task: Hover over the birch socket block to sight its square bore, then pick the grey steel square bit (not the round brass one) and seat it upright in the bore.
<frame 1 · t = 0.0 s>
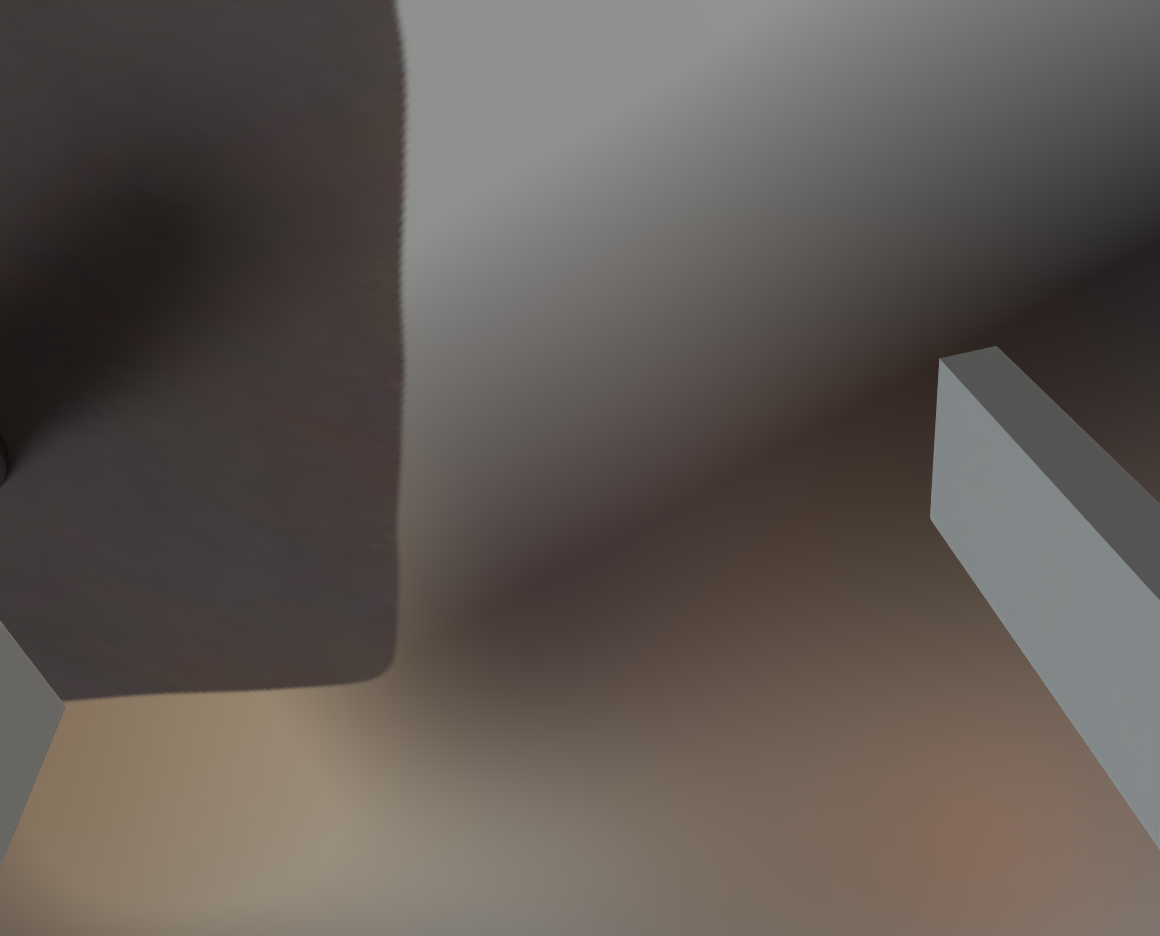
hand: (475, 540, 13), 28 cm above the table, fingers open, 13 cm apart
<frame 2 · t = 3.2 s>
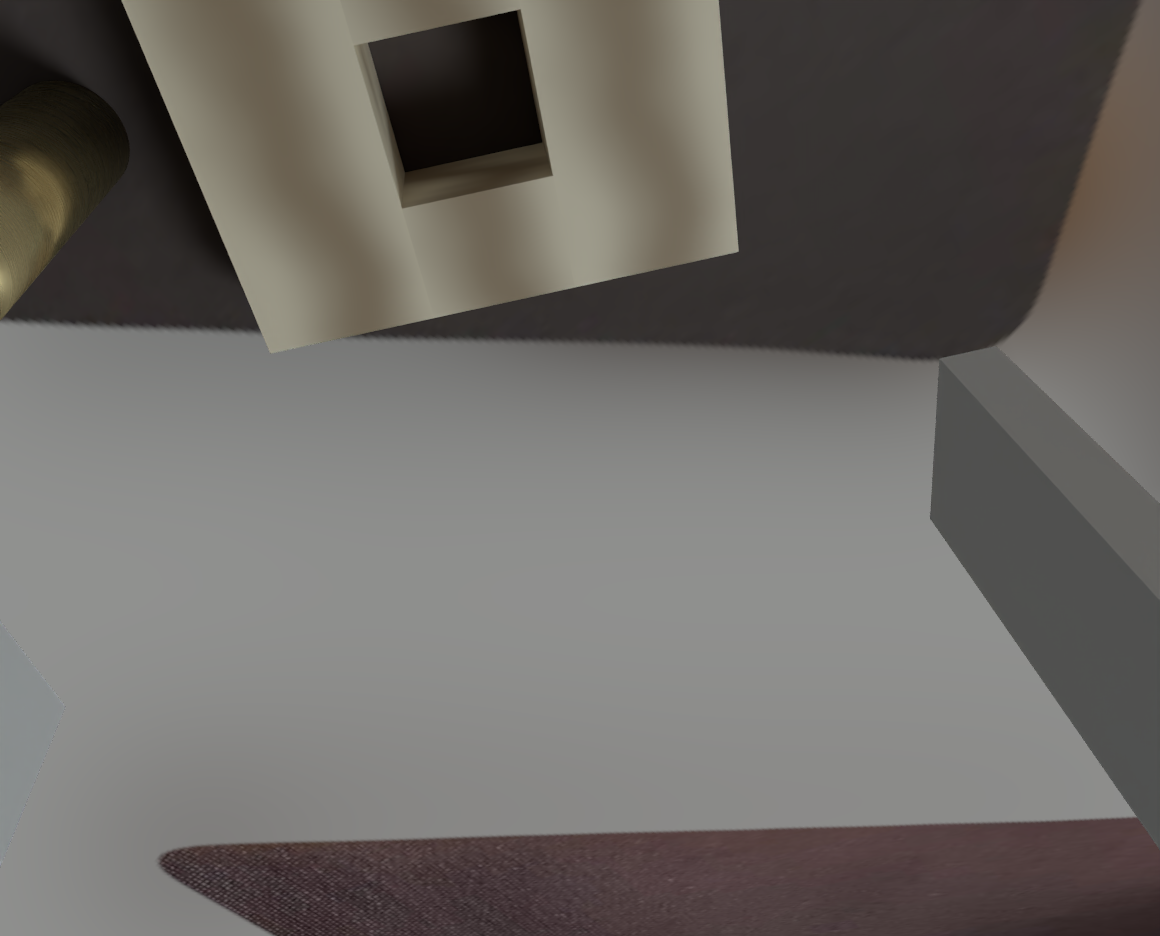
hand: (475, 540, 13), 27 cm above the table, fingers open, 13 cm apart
round bit: (69, 138, 34), on the table
socket block: (456, 84, 35), on the table
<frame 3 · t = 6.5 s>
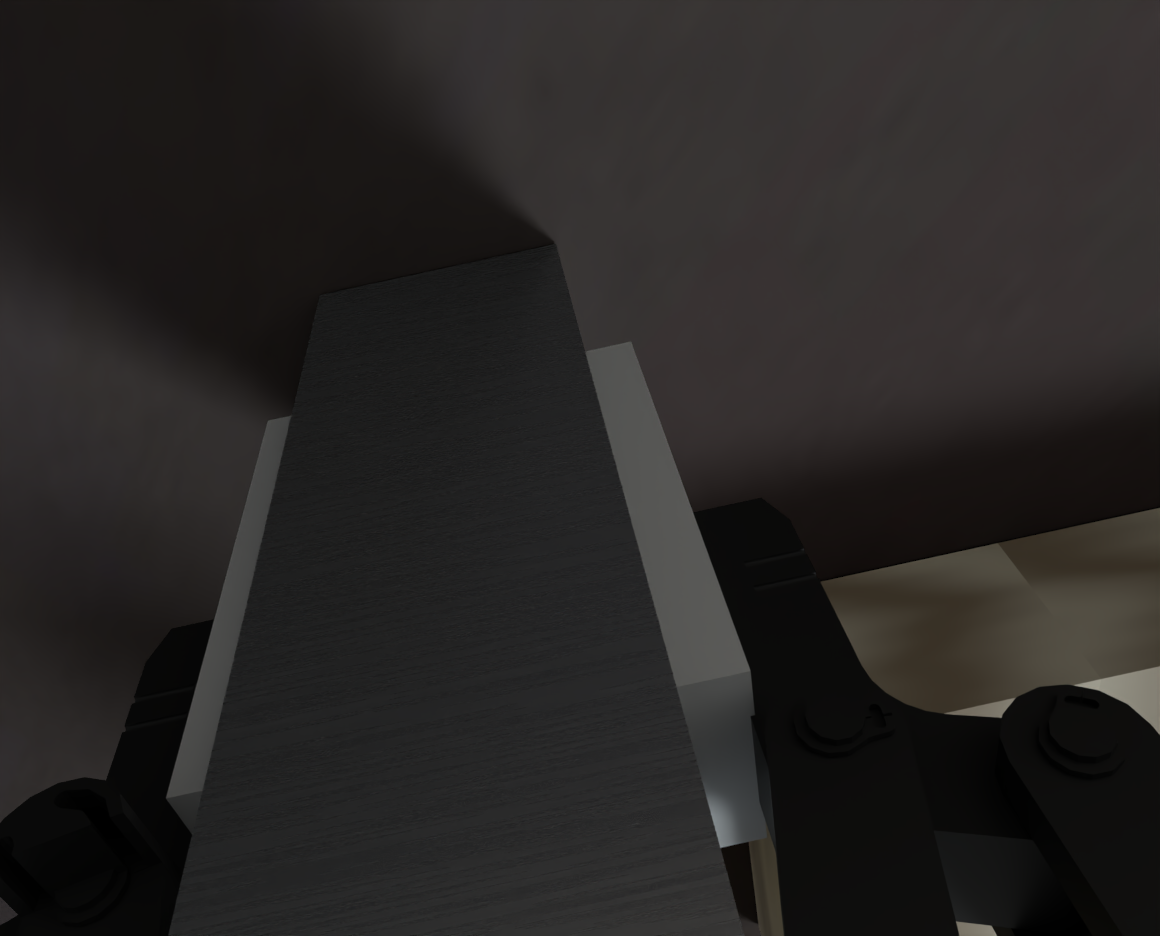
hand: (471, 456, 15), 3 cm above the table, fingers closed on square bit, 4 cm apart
square bit: (467, 372, 17), on the table, touching gripper
socket block: (1074, 718, 25), on the table
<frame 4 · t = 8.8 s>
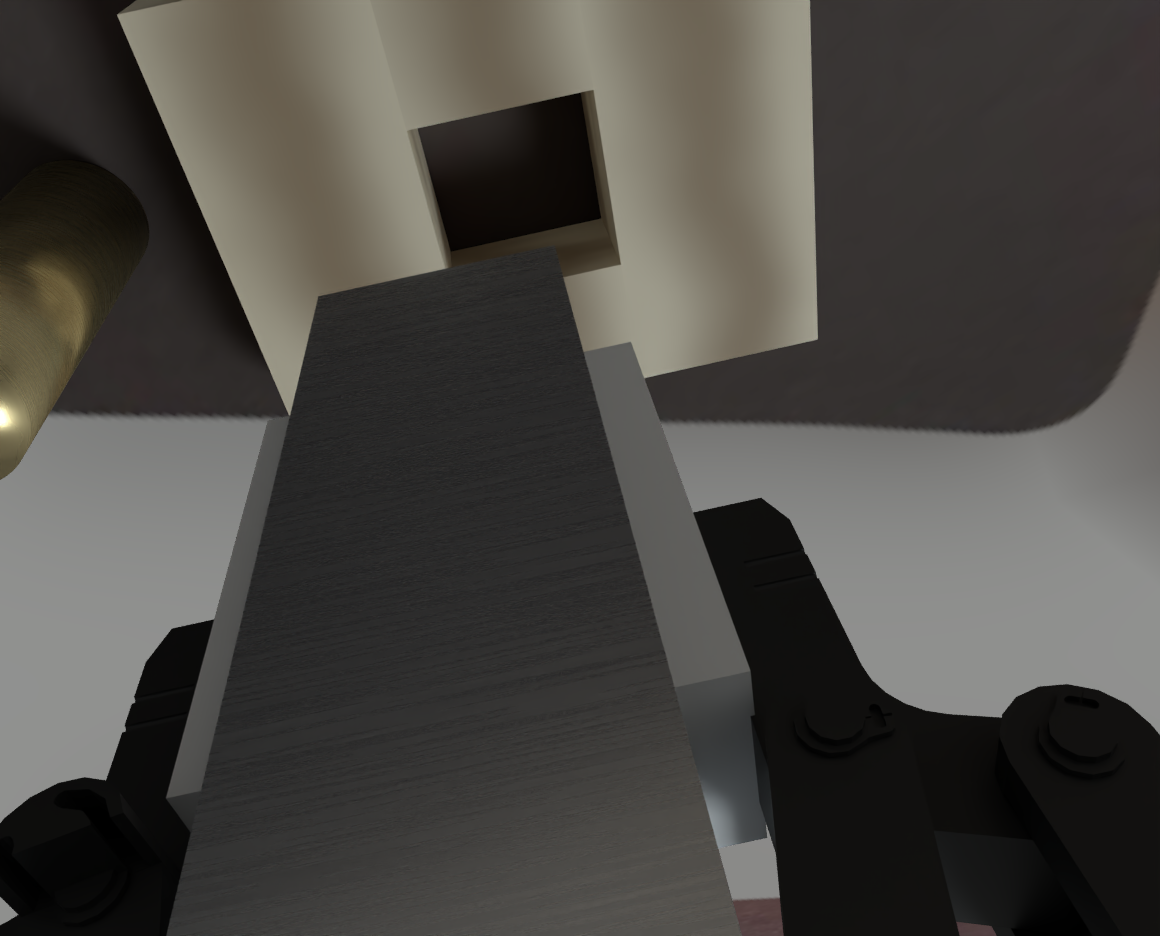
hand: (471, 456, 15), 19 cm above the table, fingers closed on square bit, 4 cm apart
round bit: (83, 221, 31), on the table
square bit: (465, 373, 17), point 17 cm above the table, touching gripper
socket block: (509, 159, 31), on the table
when the fingers open (5 cm above the table, at t = 11.3 s): square bit drops 3 cm, resting in socket block.
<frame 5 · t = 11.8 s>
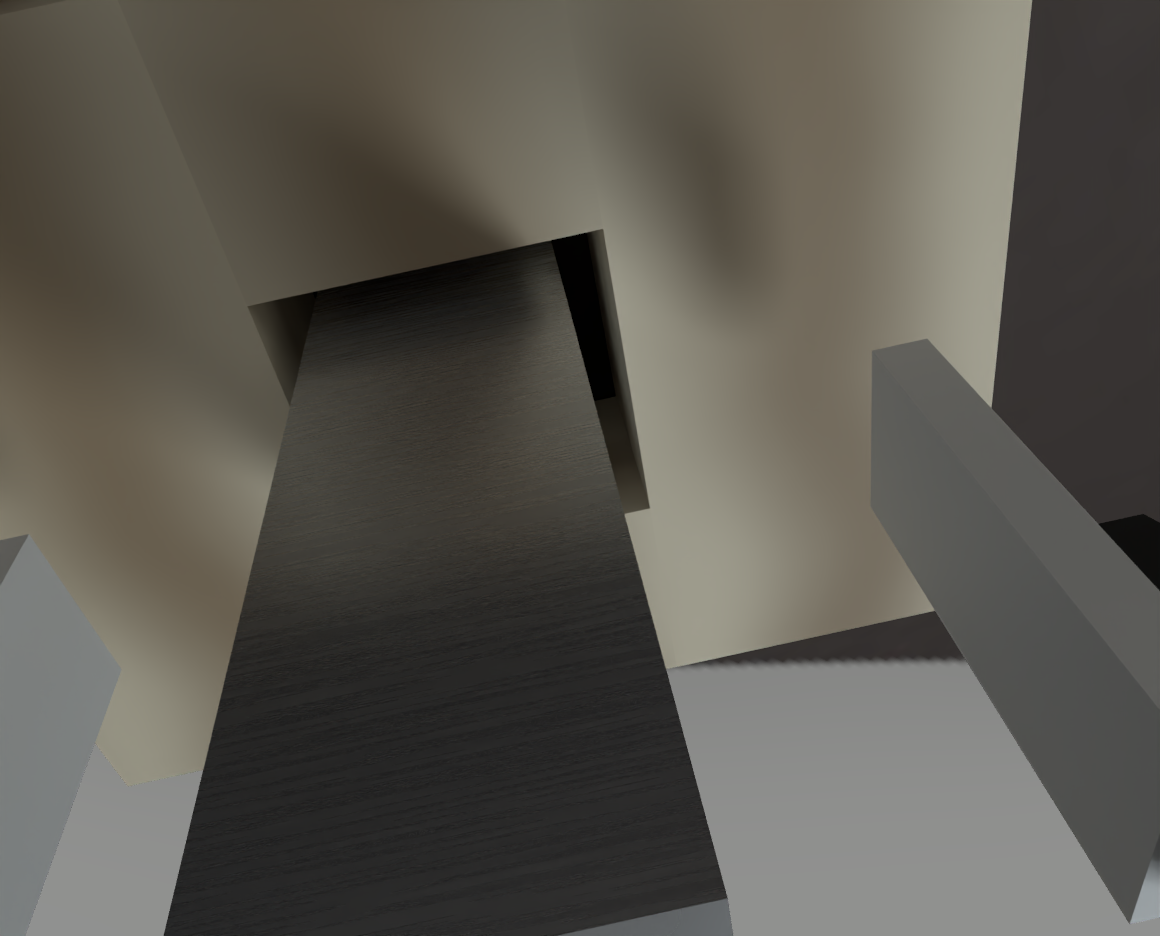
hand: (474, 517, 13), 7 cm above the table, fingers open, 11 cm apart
square bit: (460, 312, 19), resting in socket block
socket block: (463, 311, 19), on the table
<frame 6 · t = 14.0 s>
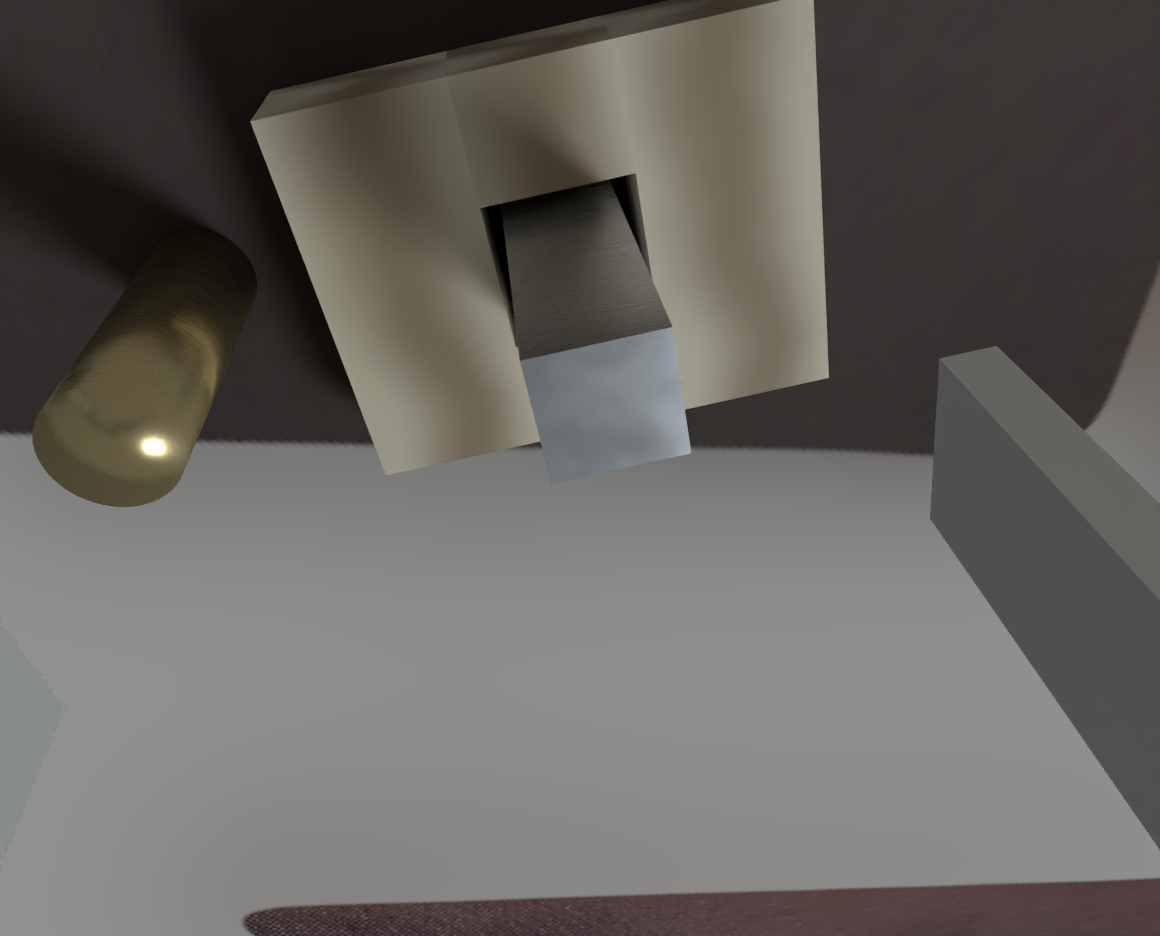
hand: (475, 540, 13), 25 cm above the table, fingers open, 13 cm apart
round bit: (203, 279, 36), on the table
square bit: (560, 224, 37), resting in socket block
socket block: (562, 224, 37), on the table
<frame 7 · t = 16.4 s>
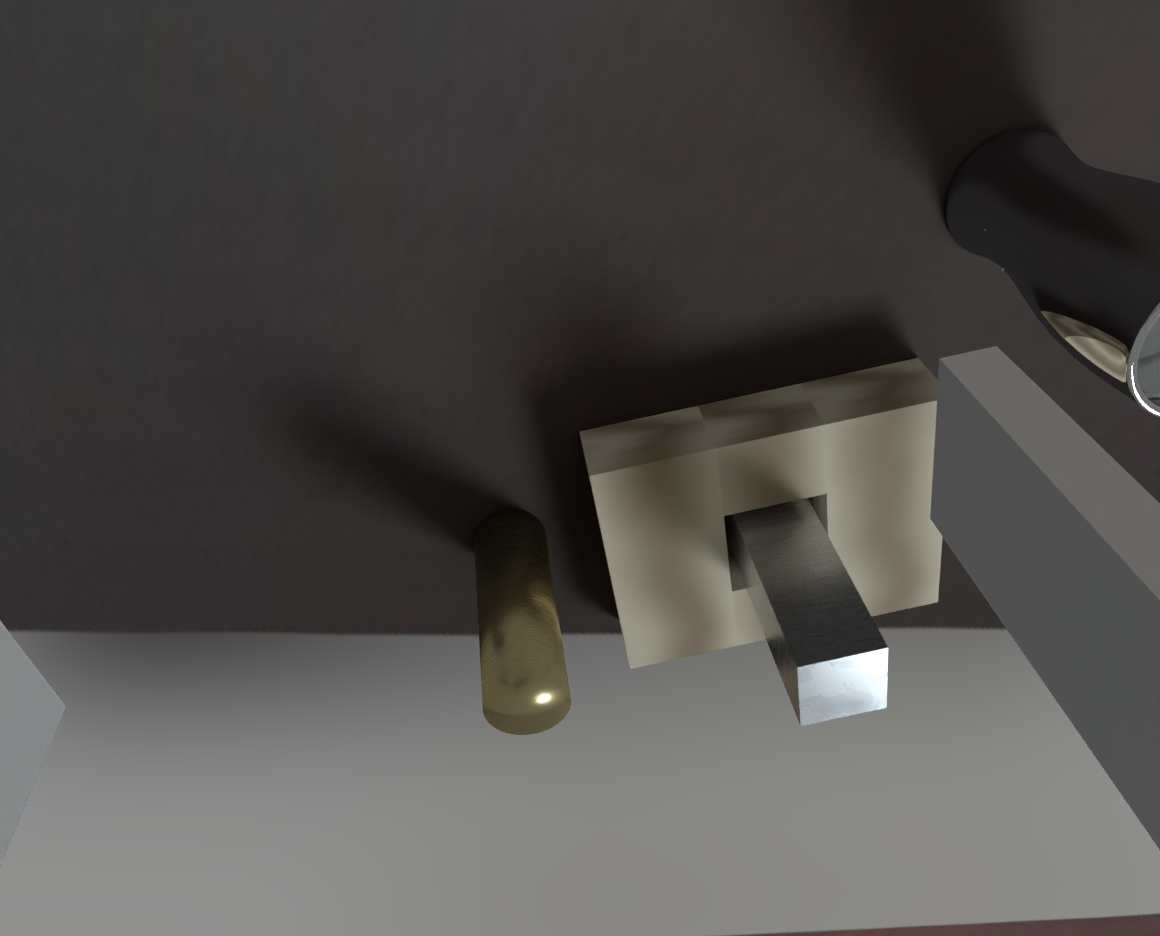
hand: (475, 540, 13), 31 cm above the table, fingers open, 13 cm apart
round bit: (510, 538, 52), on the table
beer glass: (1005, 191, 44), on the table
square bit: (755, 499, 53), resting in socket block
socket block: (756, 498, 53), on the table
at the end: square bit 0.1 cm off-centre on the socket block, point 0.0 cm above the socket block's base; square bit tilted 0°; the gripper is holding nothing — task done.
